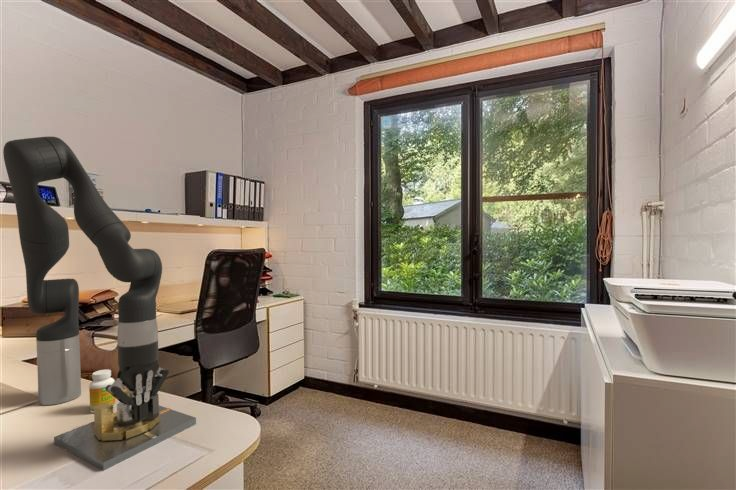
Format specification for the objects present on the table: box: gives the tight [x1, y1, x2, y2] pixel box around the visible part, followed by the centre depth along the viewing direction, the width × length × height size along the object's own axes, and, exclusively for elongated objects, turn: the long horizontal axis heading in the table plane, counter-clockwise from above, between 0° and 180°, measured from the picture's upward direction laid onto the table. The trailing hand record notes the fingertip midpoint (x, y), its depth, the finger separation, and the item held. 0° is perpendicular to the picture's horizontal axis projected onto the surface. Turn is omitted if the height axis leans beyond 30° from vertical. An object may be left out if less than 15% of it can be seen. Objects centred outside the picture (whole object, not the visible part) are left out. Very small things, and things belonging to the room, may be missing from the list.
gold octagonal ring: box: [93, 387, 160, 441], centre depth 85 cm, size 12×12×7 cm
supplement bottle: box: [88, 368, 116, 414], centre depth 98 cm, size 5×5×10 cm
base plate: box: [53, 401, 197, 471], centre depth 85 cm, size 20×20×7 cm
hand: (140, 419), depth 82 cm, fingers closed
